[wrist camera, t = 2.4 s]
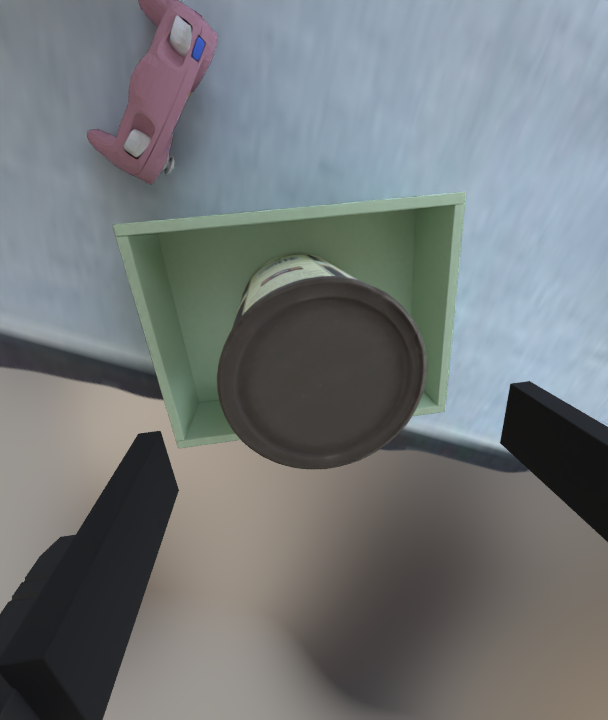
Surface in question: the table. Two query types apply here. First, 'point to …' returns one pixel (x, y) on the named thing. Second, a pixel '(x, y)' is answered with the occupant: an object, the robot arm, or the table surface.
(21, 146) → the table surface
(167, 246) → the bin
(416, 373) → the coffee can
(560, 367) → the table surface
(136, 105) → the video game controller
